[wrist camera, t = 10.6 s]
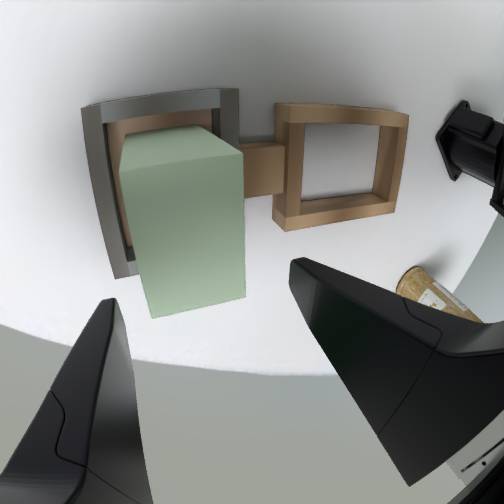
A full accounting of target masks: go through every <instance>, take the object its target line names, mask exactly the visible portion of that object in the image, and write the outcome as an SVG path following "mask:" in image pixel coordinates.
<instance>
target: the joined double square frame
mask: <svg viewBox="0 0 504 504" xmlns="http://www.w3.org/2000/svg"><path fill="white" fill-rule="evenodd" d="M81 114H82V123H83V131H84V139H85V146H86V153H87V159H88V165H89V171H90V177H91V182H92V188H93V193H94V198H95V203H96V207H97V212H98V216H99V221H100V225H101V229H102V233H103V237H104V241H105V245H106V249H107V253H108V257H109V260H110V264H111V267H112V271H113V274H114V278H115V279H119V278H124V277H129V276H134V275H139V269H138V265H137V261H136V257H135V253H134V248H133V244H132V239H131V235H130V230H129V225H128V220H127V215H126V210H125V204H124V199H123V193H122V188H121V182H120V175H119V168H120V162H121V155H122V149H123V144H124V138H125V134H129V133H135V132H141V131H147V130H153V129H160V128H167V127H174V126H182V125H191V124H197V125H199V126H200V127H202V128H203V129H205V130H207V131H208V132H210V133H212V134H213V135H215V136H217V137H218V138H220V139H221V140H223V141H225V142H226V143H228V144H229V145H231V146H232V147H234V148H236V149H237V150H239V151H240V152H242V153H243V177H244V198H249V197H257V196H264V195H271V194H273V212H272V219H273V220H274V221H275V222H276V223H277V224H278V225H279V226H280V227H281V228H282V229H283V230H284V231H285V232H287V231H292V230H298V229H303V228H309V227H314V226H320V225H326V224H331V223H337V222H342V221H348V220H354V219H360V218H365V217H371V216H377V215H383V214H388V213H394V212H395V207H396V202H397V196H398V191H399V185H400V180H401V174H402V168H403V161H404V154H405V147H406V140H407V131H408V123H409V115H407V114H403V113H399V112H395V111H391V110H384V109H375V108H366V107H355V106H343V105H328V104H305V103H275V134H274V141H272V142H257V143H244V144H239V89H235V88H219V89H202V90H189V91H178V92H169V93H160V94H152V95H145V96H138V97H132V98H126V99H120V100H114V101H109V102H104V103H99V104H94V105H89V106H86V107H83V108H81ZM305 123H346V124H366V125H381V126H380V136H379V145H378V154H377V162H376V169H375V176H374V183H373V190H372V193H367V194H359V195H350V196H342V197H334V198H326V199H319V200H311V201H304V202H301V189H302V173H303V156H304V136H305ZM106 124H107V127H106ZM107 133H108V136H107ZM108 141H109V144H108ZM109 149H110V152H109ZM110 157H111V159H110ZM111 164H112V166H111ZM112 170H113V173H112ZM113 177H114V179H113ZM114 183H115V185H114ZM115 189H116V191H115ZM116 195H117V196H116ZM117 200H118V202H117ZM118 206H119V207H118ZM119 211H120V212H119ZM120 216H121V218H120ZM121 221H122V222H121ZM122 226H123V227H122ZM123 231H124V232H123ZM124 235H125V237H124ZM125 240H126V241H125ZM126 244H127V246H126Z"/></svg>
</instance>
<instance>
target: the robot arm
mask: <svg viewBox="0 0 504 504" xmlns="http://www.w3.org/2000/svg"><path fill="white" fill-rule="evenodd" d="M436 140H437V143H438V145H439V148H440V150H441V153H442V156H443V158H444V161H445V164H446V167H447V169H448V172H449V175H450V178H451V180H453V181H456V180H457V179H458V177H459V176H460V174H461V173H462V172H464V173H466V174H468V175H470V176H472V177H474V178H476V179H478V180H480V181H482V182H484V183H486V184H488V185H490V186H492V187H494V190H493V194H492V198H491V199H490V203H489V204H490V205H491V206H492V207H493V208H494V209H495V210H496V211H497V212H498V213H500V214H501V215H502V216H503V217H504V124H502V123H500V122H497V121H494V119H493V118H492V117H489V116H486V115H483V114H480V113H477V112H474V111H471V108H470V105H469V103H468V101H465V100H463V101H462V102H461V104H460V105H459V106H458V108H457V109H456V110H455V112H454V113H453V115H452V116H451V117H450V119H449V120H448V121H447V123H446V124H445V125H444V127H443V128H442V129H441V131H440V132H439V133H438V135H437V138H436ZM289 287H290V290H291V292H292V294H293V296H294V298H295V300H296V302H297V304H298V306H299V309H300V311H301V313H302V315H303V317H304V319H305V321H306V323H307V325H308V327H309V329H310V330H311V332H312V334H313V335H314V337H315V338H316V340H317V342H318V343H319V345H320V346H321V348H322V350H323V351H324V353H325V354H326V356H327V357H328V359H329V361H330V362H331V364H332V365H333V367H334V368H335V370H336V372H337V373H338V375H339V376H340V378H341V380H342V381H343V383H344V384H345V386H346V387H347V389H348V391H349V392H350V394H351V395H352V397H353V398H354V400H355V401H356V403H357V405H358V406H359V408H360V410H361V411H362V413H363V414H364V416H365V418H366V419H367V421H368V422H369V424H370V425H371V427H372V429H373V430H374V432H375V434H376V435H377V437H378V439H379V440H380V442H381V443H382V445H383V447H384V448H385V450H386V452H387V453H388V455H389V456H390V458H391V460H392V461H393V463H394V464H395V466H396V468H397V469H398V471H399V472H400V474H401V476H402V477H403V479H404V480H405V482H406V484H407V485H408V486H409V487H410V486H411V485H413V484H414V483H416V482H418V481H419V480H421V479H422V478H424V477H425V476H426V475H428V474H429V473H430V472H432V471H433V470H435V469H436V468H438V467H439V466H440V465H442V464H443V463H444V462H446V463H447V464H448V465H449V466H450V468H451V469H452V470H453V472H454V473H455V474H456V476H457V477H458V478H459V479H460V478H461V479H462V481H463V482H464V484H465V485H466V487H465V488H464V489H463V490H462V491H461V492H460V493H459V494H458V495H457V496H455V497H454V498H453V499H452V500H451V501H450V502H449V503H448V504H504V321H501V322H496V323H479V322H475V321H472V320H469V319H466V318H463V317H460V316H457V315H454V314H451V313H448V312H444V311H441V310H439V309H436V308H433V307H430V306H427V305H424V304H422V303H419V302H416V301H414V300H411V299H409V298H407V297H404V296H403V297H402V296H401V295H399V294H396V293H394V292H391V291H389V290H386V289H384V288H381V287H379V286H376V285H374V284H371V283H369V282H366V281H364V280H361V279H359V278H356V277H354V276H351V275H349V274H346V273H344V272H341V271H338V270H336V269H333V268H331V267H328V266H326V265H323V264H321V263H318V262H315V261H313V260H310V259H308V258H305V257H302V258H297V259H293V260H292V261H291V263H290V273H289ZM50 389H51V390H49V391H48V393H47V395H46V397H45V399H44V400H43V402H42V404H41V406H40V408H39V410H38V412H37V414H36V415H35V417H34V419H33V421H32V422H31V424H30V426H29V427H28V429H27V431H26V433H25V434H24V436H23V438H22V439H21V441H20V443H19V444H18V446H17V448H16V449H15V451H14V453H13V455H12V456H11V458H10V460H9V462H8V463H7V465H6V467H5V468H4V470H3V472H2V473H1V474H0V504H153V500H152V495H151V490H150V486H149V481H148V476H147V470H146V465H145V459H144V453H143V447H142V440H141V434H140V426H139V418H138V410H137V402H136V401H137V400H136V390H135V380H134V372H133V366H132V361H131V356H130V350H129V345H128V339H127V333H126V327H125V323H124V319H123V316H122V314H121V311H120V308H119V305H118V302H117V300H116V299H115V298H110V299H105V300H102V301H101V302H100V303H99V305H98V307H97V308H96V310H95V311H94V313H93V314H92V316H91V318H90V319H89V321H88V322H87V324H86V326H85V327H84V329H83V331H82V332H81V334H80V336H79V337H78V339H77V341H76V342H75V344H74V346H73V347H72V349H71V351H70V353H69V355H68V356H67V358H66V360H65V361H64V363H63V365H62V367H61V369H60V371H59V372H58V374H57V376H56V378H55V380H54V382H53V383H52V385H51V387H50Z"/></svg>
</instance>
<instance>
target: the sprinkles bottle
mask: <svg viewBox="0 0 504 504" xmlns="http://www.w3.org/2000/svg"><path fill="white" fill-rule="evenodd" d="M396 293H397V294H399V295H401V296H402V297H403V296H404V297H407V298H409V299H411V300H414V301H416V302H419V303H422V304H424V305H427V306H430V307H433V308H436V309H439V310H441V311H444V312H448V313H451V314H454V315H457V316H460V317H463V318H466V319H469V320H472V321H475V322H479V323H483V321H481V320H480V319H479V318H478V317H477V316H476V315H475V314H474V313H472V312H471V310H470V309H469V308H468V307H467V306H466V305H464V304H463V303H462V302H461V301H460V300H459V299H458V298H456V297H455V296H454V295H453V294H452V293H451V292H449V291H448V290H447V289H446V288H445V287H443V286H442V285H441V284H440V283H438V282H436V281H435V280H434V279H433V278H431V277H430V276H429V275H428V274H427V273H425V272H424V270H423V269H422V268H420V267H415V268H413V269H411V270H410V271H408V272H407V273H406V274H405V275H404V277H403V278H402V280H401V281H400V283H399V285H398V288H397V292H396Z"/></svg>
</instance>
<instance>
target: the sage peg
mask: <svg viewBox="0 0 504 504" xmlns="http://www.w3.org/2000/svg"><path fill="white" fill-rule="evenodd" d="M119 175H120V182H121V188H122V193H123V199H124V204H125V210H126V215H127V220H128V225H129V230H130V235H131V239H132V244H133V248H134V253H135V257H136V261H137V265H138V269H139V274H140V277H141V281H142V285H143V289H144V293H145V297H146V300H147V304H148V307H149V311H150V314H151V318H152V319H153V318H157V317H162V316H167V315H171V314H176V313H180V312H185V311H189V310H194V309H198V308H203V307H207V306H211V305H215V304H220V303H224V302H228V301H232V300H236V299H240V298H245V297H246V280H245V232H244V177H243V153H242V152H240V151H239V150H237V149H236V148H234V147H232V146H231V145H229V144H228V143H226V142H225V141H223V140H221V139H220V138H218V137H217V136H215V135H213V134H212V133H210V132H208V131H207V130H205V129H203V128H202V127H200V126H199V125H197V124H191V125H182V126H174V127H167V128H160V129H153V130H147V131H141V132H135V133H129V134H125V138H124V144H123V149H122V155H121V162H120V168H119Z"/></svg>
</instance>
